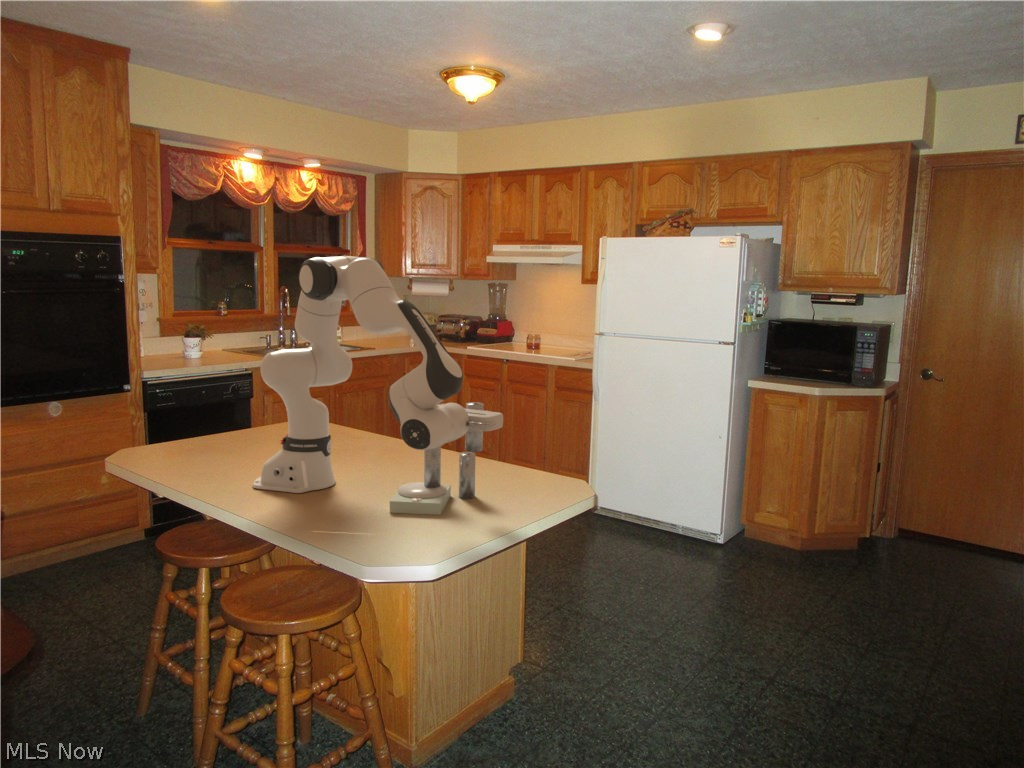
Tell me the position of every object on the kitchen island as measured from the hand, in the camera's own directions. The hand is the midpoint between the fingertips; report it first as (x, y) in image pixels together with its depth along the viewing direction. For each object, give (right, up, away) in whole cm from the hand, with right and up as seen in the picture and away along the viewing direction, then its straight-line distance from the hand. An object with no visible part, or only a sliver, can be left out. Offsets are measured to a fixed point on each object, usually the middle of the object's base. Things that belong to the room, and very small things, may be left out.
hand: (476, 412), depth 181 cm
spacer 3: (-3, -24, +13) cm, 27 cm away
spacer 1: (-12, -20, +10) cm, 26 cm away
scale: (-15, -24, +6) cm, 29 cm away
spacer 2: (-1, -10, +1) cm, 10 cm away
